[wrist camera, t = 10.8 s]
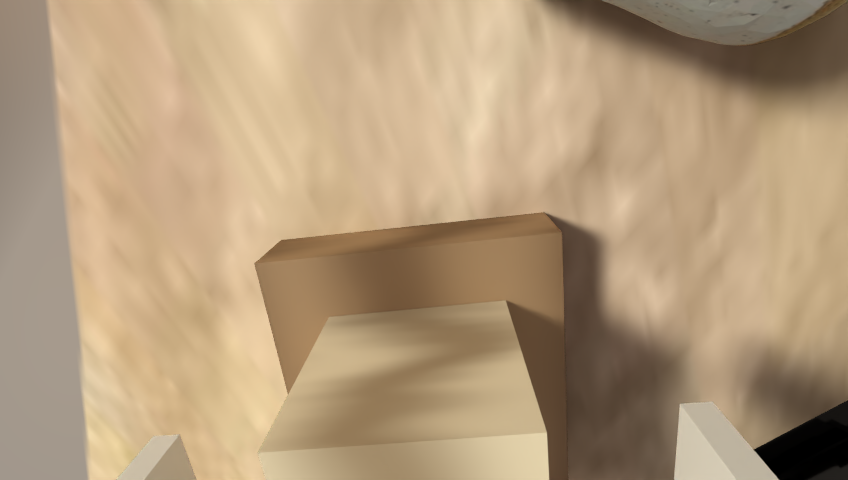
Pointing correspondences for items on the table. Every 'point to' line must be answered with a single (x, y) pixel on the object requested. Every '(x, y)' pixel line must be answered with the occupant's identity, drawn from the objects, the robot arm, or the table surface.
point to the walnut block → (430, 292)
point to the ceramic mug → (731, 17)
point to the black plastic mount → (811, 449)
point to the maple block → (411, 401)
